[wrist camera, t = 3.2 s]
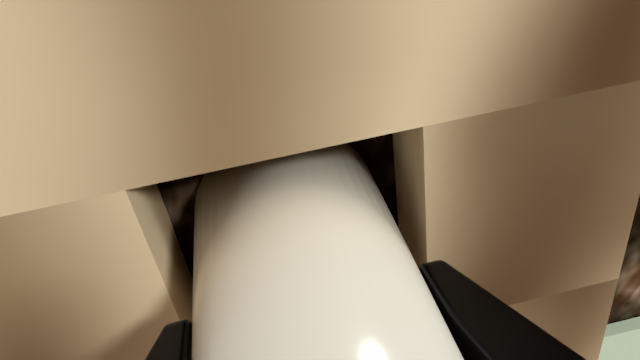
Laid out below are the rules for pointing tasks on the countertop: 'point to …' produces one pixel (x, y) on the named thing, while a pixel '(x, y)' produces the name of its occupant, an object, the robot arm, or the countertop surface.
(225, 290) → the ceramic cylinder
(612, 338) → the plate
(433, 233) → the pocket block
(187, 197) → the countertop surface
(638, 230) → the countertop surface
